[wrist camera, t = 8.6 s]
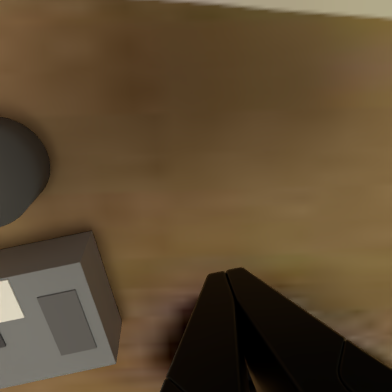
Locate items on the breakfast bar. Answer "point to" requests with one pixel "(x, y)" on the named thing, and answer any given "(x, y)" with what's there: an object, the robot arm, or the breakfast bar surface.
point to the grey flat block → (55, 310)
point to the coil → (20, 169)
